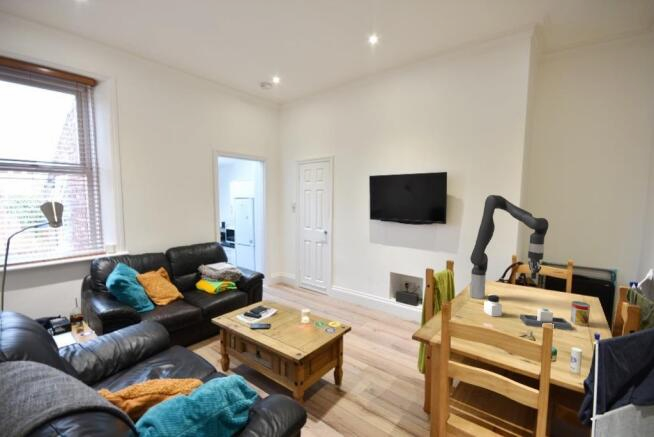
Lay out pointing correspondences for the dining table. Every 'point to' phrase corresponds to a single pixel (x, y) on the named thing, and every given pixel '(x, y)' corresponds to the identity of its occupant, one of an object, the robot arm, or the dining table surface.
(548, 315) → the block
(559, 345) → the dining table surface
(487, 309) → the medicine bottle
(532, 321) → the grey rectangular tray
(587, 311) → the canned food
